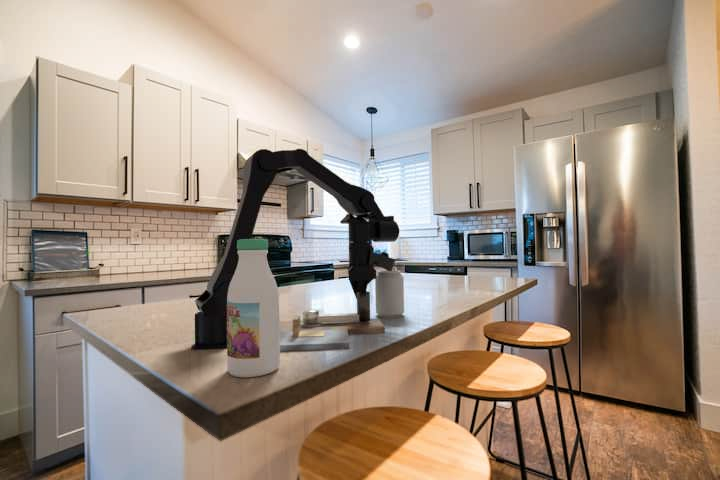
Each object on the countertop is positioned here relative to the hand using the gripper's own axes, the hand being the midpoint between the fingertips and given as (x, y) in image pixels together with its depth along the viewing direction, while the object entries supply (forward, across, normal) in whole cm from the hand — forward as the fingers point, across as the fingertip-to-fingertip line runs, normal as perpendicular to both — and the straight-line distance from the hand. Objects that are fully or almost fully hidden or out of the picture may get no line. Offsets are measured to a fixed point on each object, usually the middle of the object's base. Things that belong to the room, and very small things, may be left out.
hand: (361, 305), depth 85 cm
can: (+4, +6, -8) cm, 11 cm away
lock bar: (+2, -6, +6) cm, 9 cm away
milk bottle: (+4, -31, +18) cm, 36 cm away
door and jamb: (+4, -12, +8) cm, 15 cm away
